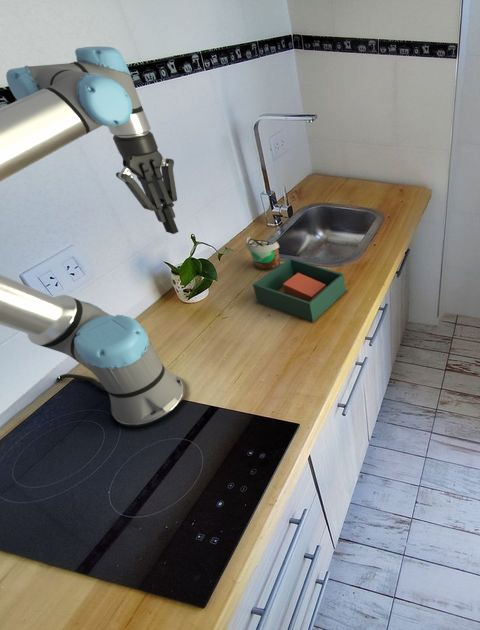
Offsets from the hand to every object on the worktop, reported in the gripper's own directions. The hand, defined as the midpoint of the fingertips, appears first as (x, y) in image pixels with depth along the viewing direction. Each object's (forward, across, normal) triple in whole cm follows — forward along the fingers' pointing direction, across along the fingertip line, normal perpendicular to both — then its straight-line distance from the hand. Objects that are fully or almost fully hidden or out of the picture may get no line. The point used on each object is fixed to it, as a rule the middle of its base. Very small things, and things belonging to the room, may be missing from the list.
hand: (172, 231), depth 100 cm
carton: (+27, -23, +13) cm, 38 cm away
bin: (+30, -23, +17) cm, 42 cm away
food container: (+31, -31, -7) cm, 44 cm away
